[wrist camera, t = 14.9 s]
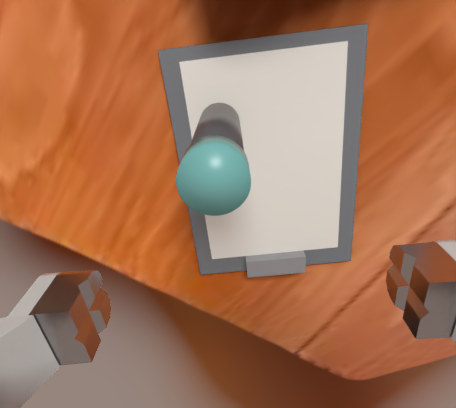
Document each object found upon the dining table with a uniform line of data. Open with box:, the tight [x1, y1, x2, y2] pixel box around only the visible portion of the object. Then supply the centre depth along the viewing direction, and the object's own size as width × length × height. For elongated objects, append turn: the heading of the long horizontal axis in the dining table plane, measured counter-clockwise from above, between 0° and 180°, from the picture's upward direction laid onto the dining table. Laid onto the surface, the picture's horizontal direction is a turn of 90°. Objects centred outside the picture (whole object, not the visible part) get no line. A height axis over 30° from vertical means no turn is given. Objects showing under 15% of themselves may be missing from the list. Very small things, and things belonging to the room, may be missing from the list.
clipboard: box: [158, 24, 368, 278], centre depth 29 cm, size 22×16×2 cm
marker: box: [176, 103, 251, 216], centre depth 22 cm, size 4×4×13 cm
